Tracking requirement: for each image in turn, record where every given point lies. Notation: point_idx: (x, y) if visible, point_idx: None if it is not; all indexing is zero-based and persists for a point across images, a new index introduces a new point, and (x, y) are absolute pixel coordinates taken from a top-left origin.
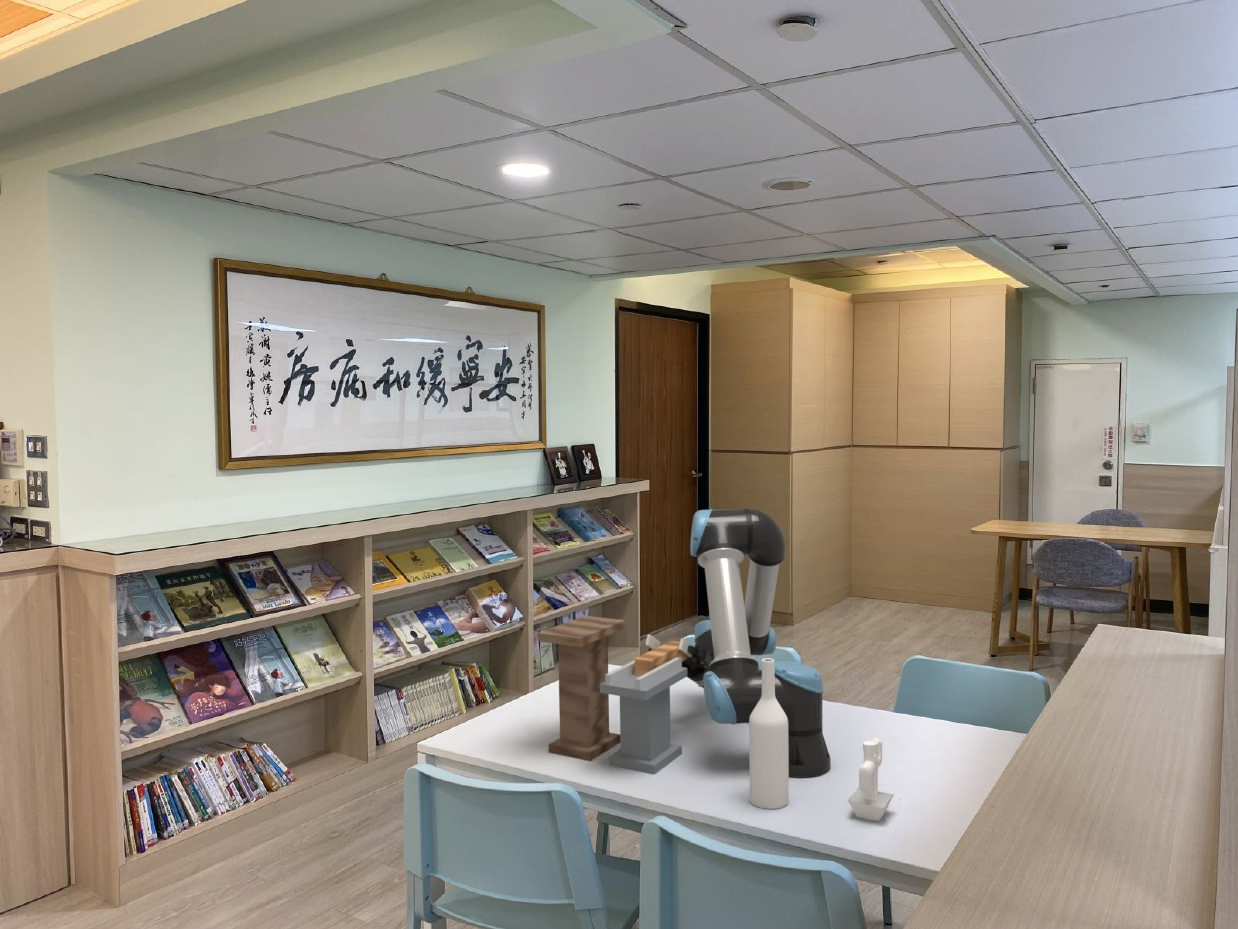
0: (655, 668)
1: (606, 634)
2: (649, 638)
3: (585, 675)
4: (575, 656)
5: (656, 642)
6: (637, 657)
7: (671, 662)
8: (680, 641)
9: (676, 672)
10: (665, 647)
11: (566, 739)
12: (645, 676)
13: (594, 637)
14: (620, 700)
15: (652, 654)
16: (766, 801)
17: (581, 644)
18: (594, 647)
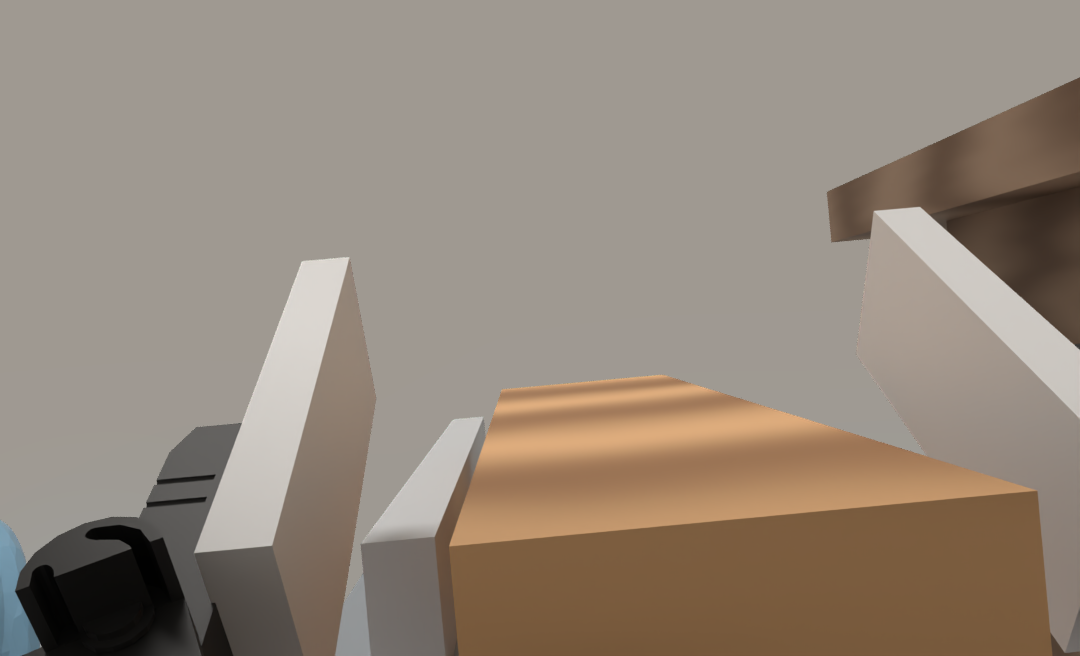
0: (468, 446)
1: (976, 183)
2: (868, 265)
3: None
4: None
5: (988, 388)
6: (662, 376)
7: (408, 488)
8: (353, 301)
9: (366, 609)
10: (670, 423)
11: None
12: (450, 425)
13: (891, 196)
14: None
15: (607, 392)
16: None
17: (833, 227)
18: (1011, 287)
